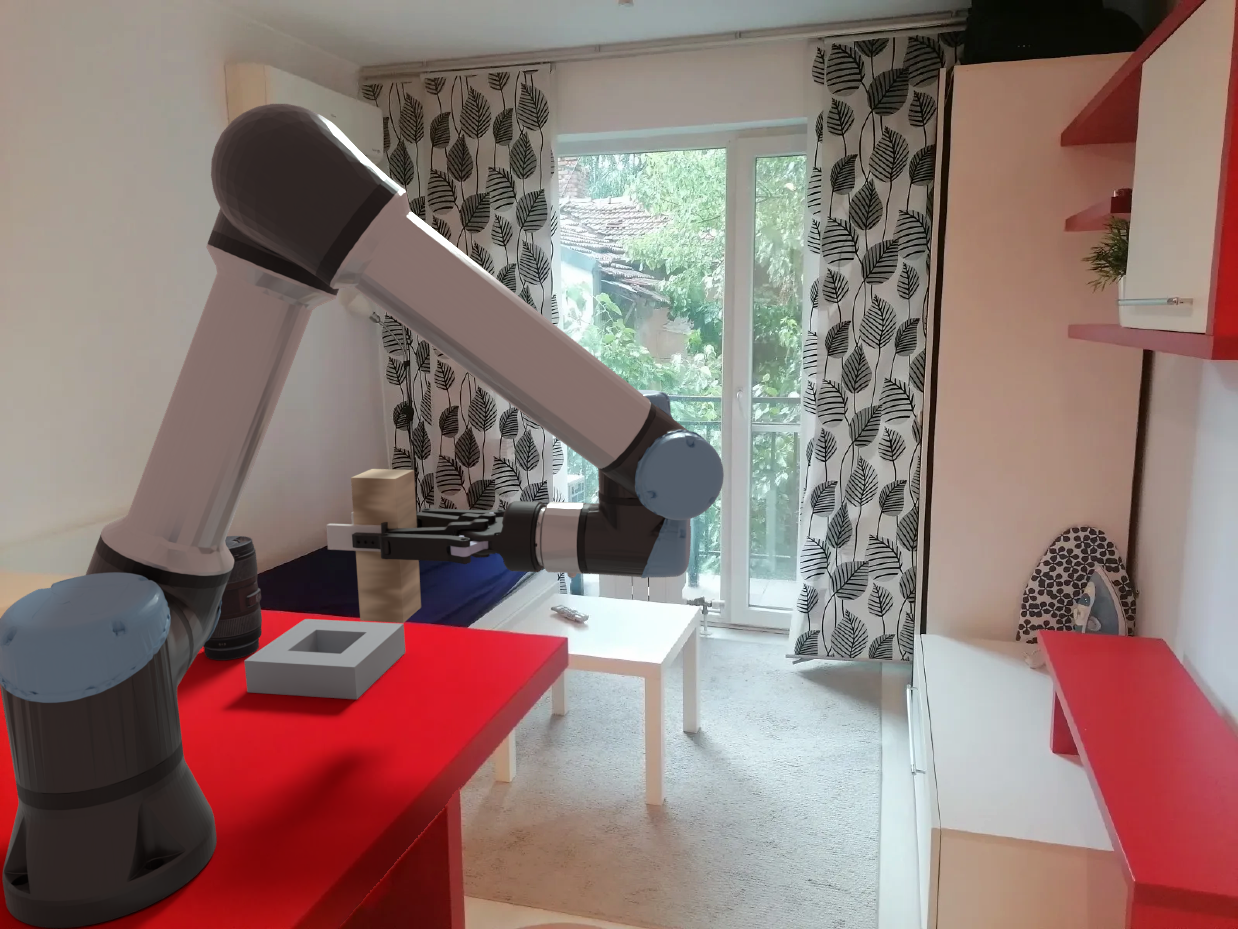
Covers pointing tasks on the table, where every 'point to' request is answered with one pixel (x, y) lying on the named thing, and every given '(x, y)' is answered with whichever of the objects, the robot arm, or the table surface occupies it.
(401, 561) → the peg
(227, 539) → the camera lens
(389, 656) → the socket block
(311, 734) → the table surface
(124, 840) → the robot arm
